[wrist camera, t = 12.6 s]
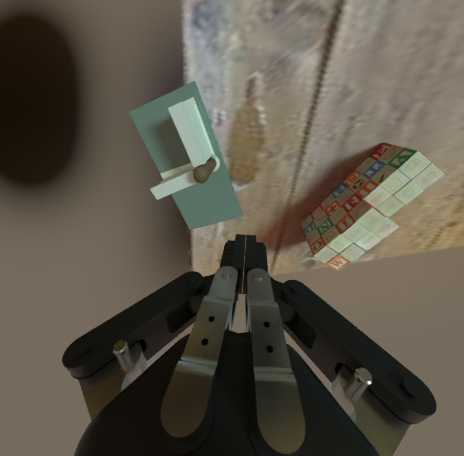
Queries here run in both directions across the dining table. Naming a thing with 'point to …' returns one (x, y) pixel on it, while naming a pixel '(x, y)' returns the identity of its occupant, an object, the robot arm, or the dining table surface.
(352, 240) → the stack of blocks
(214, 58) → the dining table surface
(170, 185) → the panel
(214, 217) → the board
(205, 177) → the brown rounded rod
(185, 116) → the panel
